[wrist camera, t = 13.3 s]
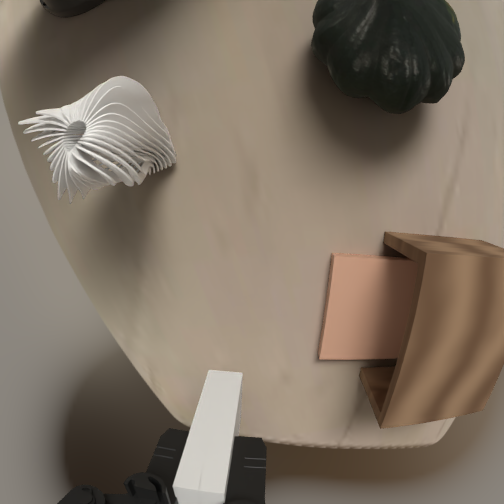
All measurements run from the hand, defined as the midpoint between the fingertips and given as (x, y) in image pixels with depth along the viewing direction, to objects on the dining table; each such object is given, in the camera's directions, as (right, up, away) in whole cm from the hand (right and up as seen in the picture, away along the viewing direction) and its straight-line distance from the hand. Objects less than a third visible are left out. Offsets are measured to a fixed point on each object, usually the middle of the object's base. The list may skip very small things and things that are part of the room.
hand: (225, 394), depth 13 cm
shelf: (+22, 0, +20) cm, 30 cm away
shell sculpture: (-9, +17, +18) cm, 26 cm away
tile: (+18, 0, +20) cm, 27 cm away
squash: (+14, +27, +14) cm, 34 cm away
